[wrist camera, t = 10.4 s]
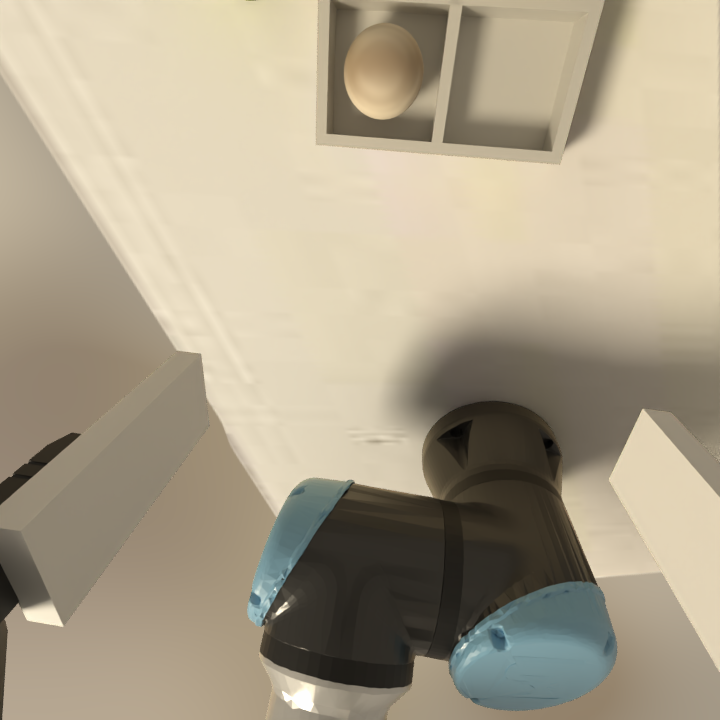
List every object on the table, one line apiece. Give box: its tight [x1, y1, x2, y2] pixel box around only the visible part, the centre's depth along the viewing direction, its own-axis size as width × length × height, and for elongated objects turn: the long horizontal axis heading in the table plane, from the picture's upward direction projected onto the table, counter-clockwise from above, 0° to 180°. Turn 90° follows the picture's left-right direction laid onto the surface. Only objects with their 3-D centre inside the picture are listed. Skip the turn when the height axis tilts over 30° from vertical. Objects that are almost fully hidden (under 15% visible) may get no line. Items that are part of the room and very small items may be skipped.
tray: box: [316, 0, 605, 165], centre depth 28 cm, size 18×18×4 cm
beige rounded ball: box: [344, 23, 424, 120], centre depth 29 cm, size 6×6×6 cm
